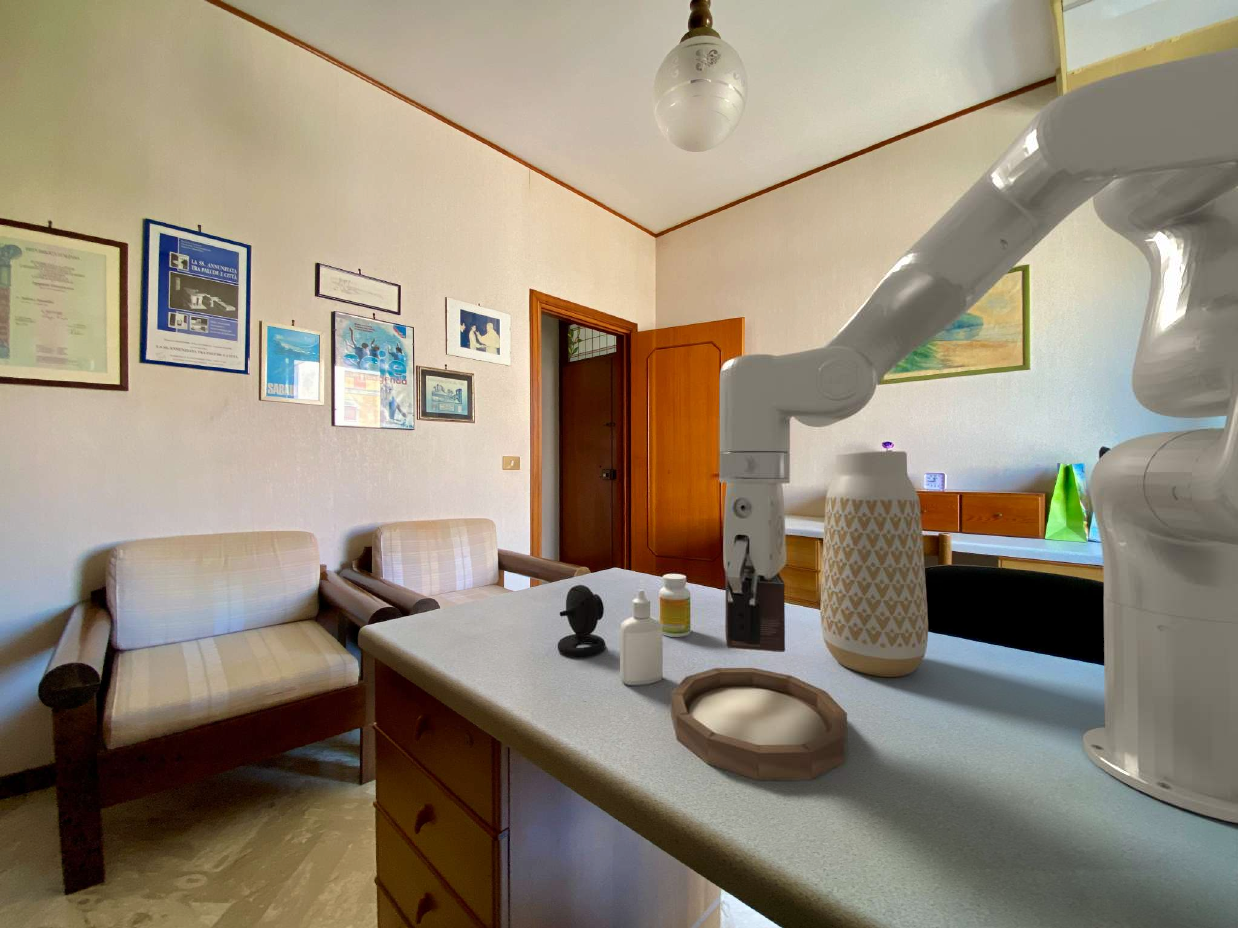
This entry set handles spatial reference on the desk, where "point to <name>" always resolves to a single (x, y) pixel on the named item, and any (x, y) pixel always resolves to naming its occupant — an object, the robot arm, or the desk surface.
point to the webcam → (582, 623)
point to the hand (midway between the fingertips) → (753, 628)
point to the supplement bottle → (674, 606)
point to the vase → (874, 566)
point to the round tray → (759, 723)
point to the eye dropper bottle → (641, 645)
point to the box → (765, 615)
